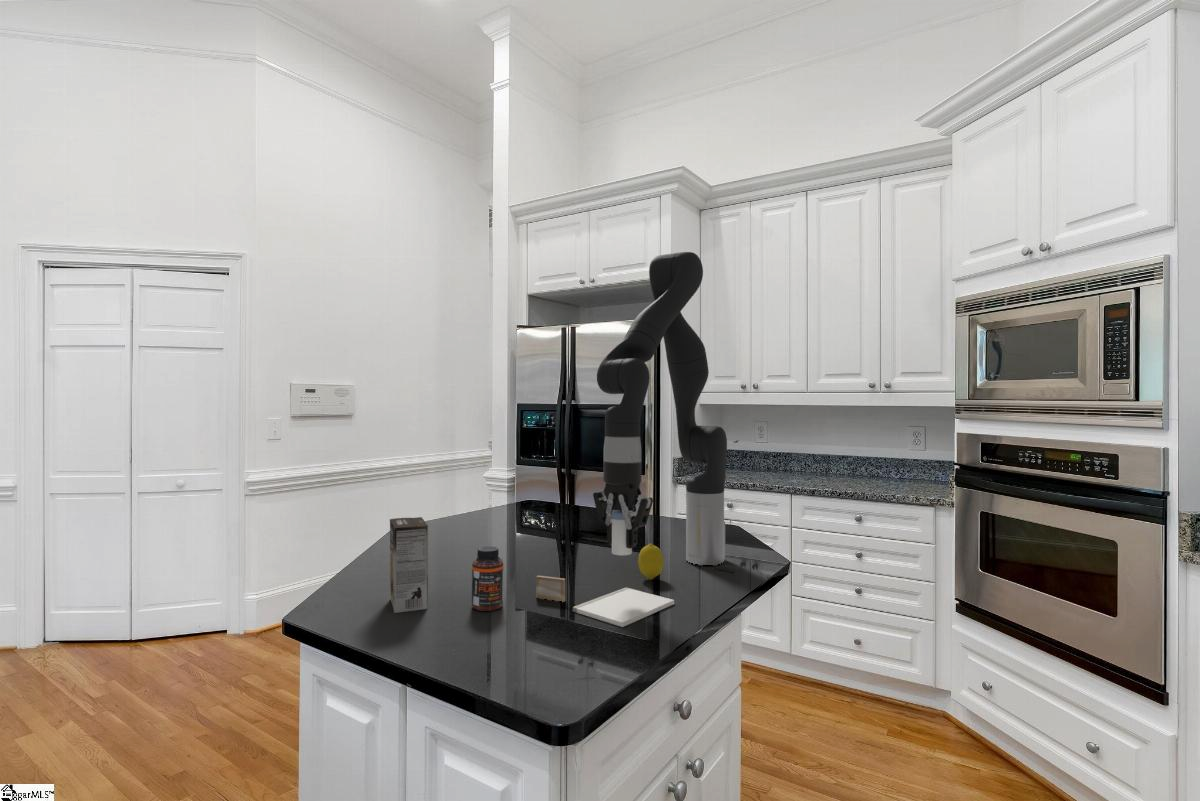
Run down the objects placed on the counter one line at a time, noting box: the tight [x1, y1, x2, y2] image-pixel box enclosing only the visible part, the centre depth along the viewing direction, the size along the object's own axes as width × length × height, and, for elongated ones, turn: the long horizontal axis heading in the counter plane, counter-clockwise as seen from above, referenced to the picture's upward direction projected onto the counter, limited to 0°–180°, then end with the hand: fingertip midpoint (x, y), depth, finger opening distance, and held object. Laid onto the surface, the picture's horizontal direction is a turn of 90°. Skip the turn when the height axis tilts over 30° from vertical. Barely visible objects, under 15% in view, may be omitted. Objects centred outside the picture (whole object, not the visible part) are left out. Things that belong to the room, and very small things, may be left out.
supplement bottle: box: [471, 545, 504, 612], centre depth 119 cm, size 6×6×11 cm
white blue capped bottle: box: [611, 510, 633, 556], centre depth 123 cm, size 4×4×8 cm
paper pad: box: [572, 587, 675, 628], centre depth 119 cm, size 16×12×1 cm
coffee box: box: [389, 516, 429, 614], centre depth 121 cm, size 9×6×16 cm
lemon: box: [637, 543, 664, 581], centre depth 137 cm, size 6×6×8 cm
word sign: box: [535, 575, 566, 603], centre depth 123 cm, size 1×6×4 cm, turn 69°
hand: (621, 545), depth 123 cm, fingers closed on white blue capped bottle, 4 cm apart
